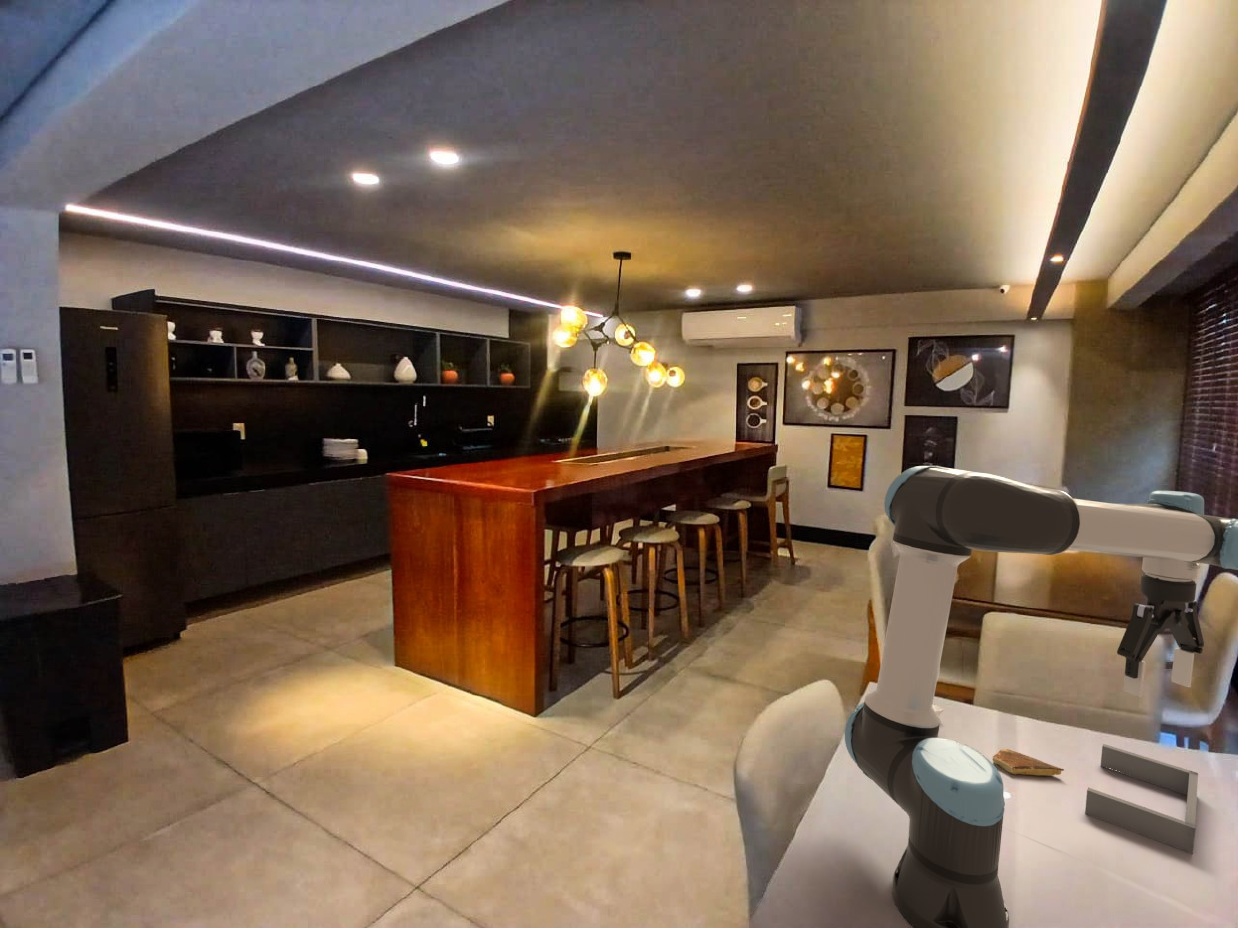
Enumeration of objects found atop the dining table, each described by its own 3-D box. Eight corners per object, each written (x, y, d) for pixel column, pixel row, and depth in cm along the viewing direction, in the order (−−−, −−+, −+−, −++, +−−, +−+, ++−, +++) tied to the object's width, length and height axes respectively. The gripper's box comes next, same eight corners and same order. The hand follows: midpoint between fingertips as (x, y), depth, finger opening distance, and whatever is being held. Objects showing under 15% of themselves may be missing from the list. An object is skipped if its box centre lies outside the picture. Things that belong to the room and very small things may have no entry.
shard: (1064, 776, 124) (1064, 767, 124) (1051, 791, 119) (1051, 782, 119) (1003, 753, 132) (1004, 745, 132) (989, 766, 127) (990, 758, 127)
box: (1085, 813, 113) (1087, 790, 113) (1101, 764, 129) (1103, 743, 129) (1192, 853, 103) (1195, 828, 103) (1195, 794, 119) (1198, 772, 119)
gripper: (1146, 587, 104) (1134, 707, 106) (1237, 576, 112) (1224, 688, 114) (1099, 575, 111) (1089, 689, 113) (1187, 566, 119) (1176, 672, 121)
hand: (1157, 689), depth 114 cm, fingers open, 13 cm apart
